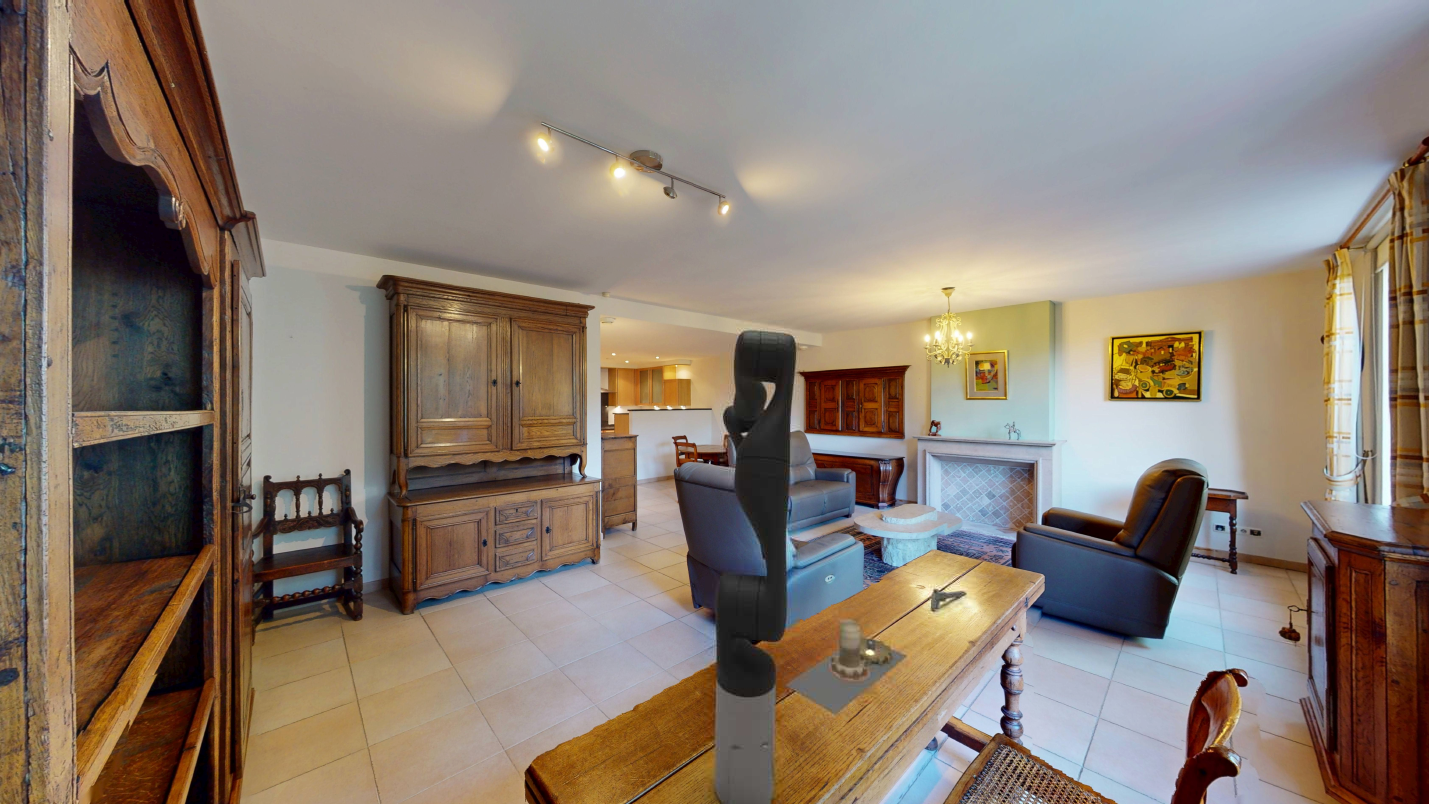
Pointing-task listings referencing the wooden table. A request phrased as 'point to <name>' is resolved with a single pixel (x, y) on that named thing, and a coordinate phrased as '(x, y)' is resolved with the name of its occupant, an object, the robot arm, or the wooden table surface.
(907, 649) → the wooden table surface
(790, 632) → the wooden table surface
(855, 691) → the gear board
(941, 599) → the caliper
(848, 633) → the beech gear spindle
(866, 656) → the brass gear
